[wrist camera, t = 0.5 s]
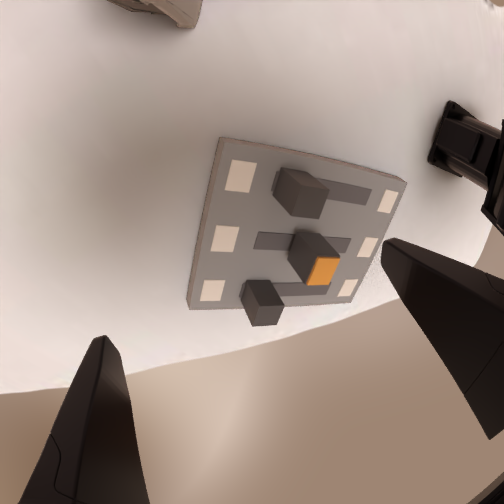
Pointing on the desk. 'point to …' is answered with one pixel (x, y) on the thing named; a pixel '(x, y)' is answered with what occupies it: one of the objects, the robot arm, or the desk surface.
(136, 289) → the desk surface
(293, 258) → the block
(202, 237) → the panel
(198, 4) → the electrical switch
